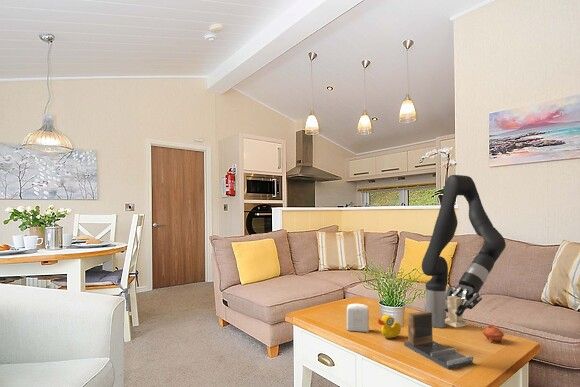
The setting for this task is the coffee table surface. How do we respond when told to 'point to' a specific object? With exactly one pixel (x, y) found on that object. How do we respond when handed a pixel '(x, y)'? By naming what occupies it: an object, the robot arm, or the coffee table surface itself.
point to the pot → (493, 333)
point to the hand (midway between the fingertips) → (451, 313)
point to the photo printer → (357, 318)
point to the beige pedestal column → (452, 308)
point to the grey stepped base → (441, 354)
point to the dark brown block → (420, 327)
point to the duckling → (389, 326)
